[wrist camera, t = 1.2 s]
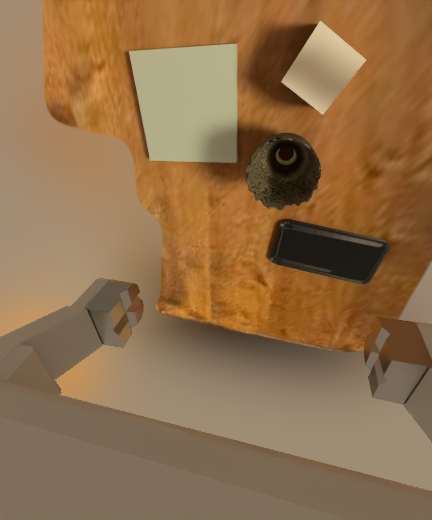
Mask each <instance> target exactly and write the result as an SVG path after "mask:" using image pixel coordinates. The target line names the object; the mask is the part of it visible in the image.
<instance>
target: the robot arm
mask: <svg viewBox="0 0 432 520" xmlns="http://www.w3.org/2000/svg"><path fill="white" fill-rule="evenodd" d="M139 292H140V290H139V287H138V285H137V284H135V283H129V282H123V281H117V280H109V279H103V278H99V279H97V280H95V281H94V282H93V284H92V285H91V286H90V287H89V288H88V289H87V290H86V291H85V292H84V293H83V294H82V295H81V296H80V297H79V298H78V299H77V300H76V302H75V303H74V304H73V305H72V306H66V307H64V308H62V309H60V310H57V311H55V312H53V313H51V314H49V315H47V316H44V317H42V318H40V319H38V320H36V321H34V322H32V323H30V324H27V325H25V326H23V327H21V328H19V329H16V330H14V331H12V332H10V333H8V334H6V335H4V336H1V337H0V520H432V491H430V490H426V489H422V488H418V487H414V486H410V485H406V484H402V483H398V482H395V481H391V480H387V479H383V478H379V477H375V476H371V475H368V474H363V473H360V472H356V471H352V470H348V469H344V468H341V467H337V466H332V465H328V464H325V463H321V462H317V461H314V460H309V459H306V458H302V457H298V456H294V455H290V454H286V453H282V452H278V451H275V450H271V449H267V448H263V447H259V446H256V445H252V444H247V443H244V442H240V441H236V440H232V439H228V438H225V437H221V436H217V435H213V434H209V433H205V432H201V431H198V430H194V429H190V428H186V427H182V426H178V425H174V424H170V423H166V422H163V421H159V420H155V419H151V418H147V417H143V416H139V415H136V414H132V413H128V412H124V411H120V410H116V409H112V408H108V407H104V406H101V405H97V404H93V403H89V402H85V401H81V400H77V399H73V398H69V397H66V396H61V395H60V394H61V388H60V387H59V386H58V384H57V383H56V381H55V379H57V378H58V377H60V376H61V375H62V374H64V373H65V372H66V371H68V370H69V369H71V368H72V367H73V366H75V365H76V364H78V363H79V362H80V361H82V360H83V359H84V358H86V357H87V356H89V355H90V354H91V353H93V352H94V351H96V350H97V349H98V348H100V347H101V346H102V344H104V345H110V346H116V347H122V348H123V347H124V346H125V344H126V343H127V341H128V339H129V337H130V336H131V335H132V329H131V328H132V327H134V326H136V325H137V324H138V323H139V321H140V320H141V318H142V314H143V301H142V300H141V299H140V298H139V297H138V294H139ZM371 326H372V331H373V332H372V333H370V334H368V335H367V337H366V340H365V345H364V359H365V364H366V365H367V366H368V368H369V369H370V370H371V372H370V374H369V377H368V379H369V384H370V388H371V393H372V397H373V398H376V399H381V400H386V401H390V402H394V403H399V404H403V405H404V407H405V408H406V409H407V411H408V412H409V413H410V414H411V416H412V417H413V418H414V420H415V421H416V422H417V423H418V425H419V426H420V427H421V429H422V430H423V431H424V432H425V434H426V435H427V436H428V437H429V439H430V440H431V441H432V324H426V323H419V322H410V321H403V320H395V319H388V318H380V317H376V318H375V319H374V320H373V322H372V325H371Z"/></svg>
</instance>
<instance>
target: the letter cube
mask: <svg viewBox="0 0 432 520" xmlns="http://www.w3.org/2000/svg"><path fill="white" fill-rule="evenodd" d="M365 61H366V59H365V58H363V57H362V56H361V55H360V54H359V53H358V52H356V51H355V50H354V49H353V48H352V47H351V46H349V45H348V44H347V43H346V42H345V41H344V40H342V39H341V38H340V37H339V36H338V35H336V34H335V33H334V32H333V31H332V30H331V29H329V28H328V27H327V26H326V25H325V24H324V23H322V22H321V21H320V22H319V23H318V25H317V26H316V28H315V29H314V31H313V33H312V34H311V36H310V37H309V39H308V40H307V42H306V43H305V45H304V47H303V48H302V50H301V51H300V53H299V54H298V56H297V57H296V59H295V61H294V62H293V64H292V65H291V67H290V68H289V70H288V71H287V73H286V75H285V76H284V78H283V79H282V81H281V82H282V83H283V84H284V85H286V86H287V87H288V89H289V90H291V91H292V92H293V93H294V94H296V95H297V96H298V97H299V98H301V99H302V100H303V101H305V102H306V103H307V104H308V105H310V106H311V107H312V108H313V109H314V108H315V109H316V110H317V111H319V112H320V113H321V114H322V115H323V114H324V112H325V111H326V110H327V109H328V107H329V106H330V105H331V104H332V102H333V101H334V100H335V99H336V97H337V96H338V95H339V94H340V92H341V91H342V90H343V89H344V87H345V86H346V85H347V83H348V82H349V81H350V80H351V78H352V77H353V76H354V75H355V73H356V72H357V71H358V70H359V68H360V67H361V66H362V65H363V63H364V62H365Z"/></svg>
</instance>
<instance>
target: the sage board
mask: <svg viewBox="0 0 432 520" xmlns="http://www.w3.org/2000/svg"><path fill="white" fill-rule="evenodd" d="M129 54H130V59H131V64H132V70H133V75H134V80H135V85H136V90H137V95H138V100H139V106H140V111H141V116H142V121H143V126H144V131H145V136H146V141H147V147H148V152H149V157H150V161H185V162H220V163H237V161H238V88H237V44H224V45H210V46H195V47H181V48H167V49H153V50H139V51H129Z"/></svg>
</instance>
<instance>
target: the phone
mask: <svg viewBox="0 0 432 520" xmlns="http://www.w3.org/2000/svg"><path fill="white" fill-rule="evenodd" d="M389 250H390V247H389V244H388V242H387V241H386V240H383V239H378V238H374V237H369V236H364V235H360V234H355V233H351V232H346V231H341V230H337V229H332V228H327V227H323V226H318V225H314V224H309V223H304V222H300V221H295V220H291V219H285V220H283V221H282V222H281V223H280V225H279V228H278V232H277V235H276V239H275V242H274V246H273V249H272V252H271V258H270V259H271V261H272V262H273V263H274V264H278V265H282V266H286V267H290V268H294V269H299V270H303V271H307V272H311V273H315V274H320V275H324V276H328V277H332V278H336V279H340V280H345V281H349V282H353V283H357V284H366V283H368V282H370V280H371V279H372V277H373V276H374V274H375V273H376V271H377V269H378V268H379V266H380V265H381V263H382V261H383V260H384V258H385V257H386V255H387V253H388V252H389Z"/></svg>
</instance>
